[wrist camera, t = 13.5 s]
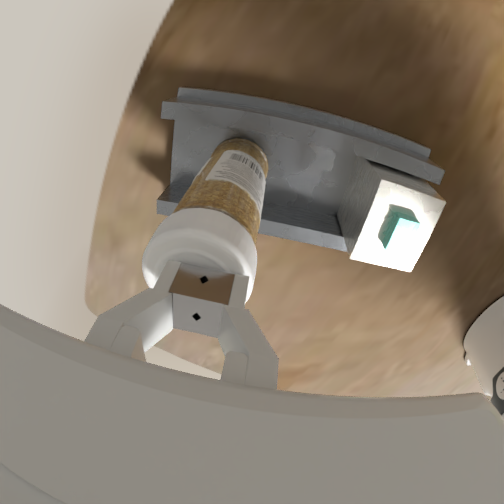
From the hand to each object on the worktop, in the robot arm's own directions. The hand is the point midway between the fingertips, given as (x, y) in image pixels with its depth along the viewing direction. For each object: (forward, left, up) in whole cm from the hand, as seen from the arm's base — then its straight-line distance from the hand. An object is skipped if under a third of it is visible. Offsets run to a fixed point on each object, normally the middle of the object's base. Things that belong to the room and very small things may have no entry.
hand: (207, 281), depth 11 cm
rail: (-4, 0, -15) cm, 15 cm away
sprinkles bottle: (+1, 0, -14) cm, 14 cm away
